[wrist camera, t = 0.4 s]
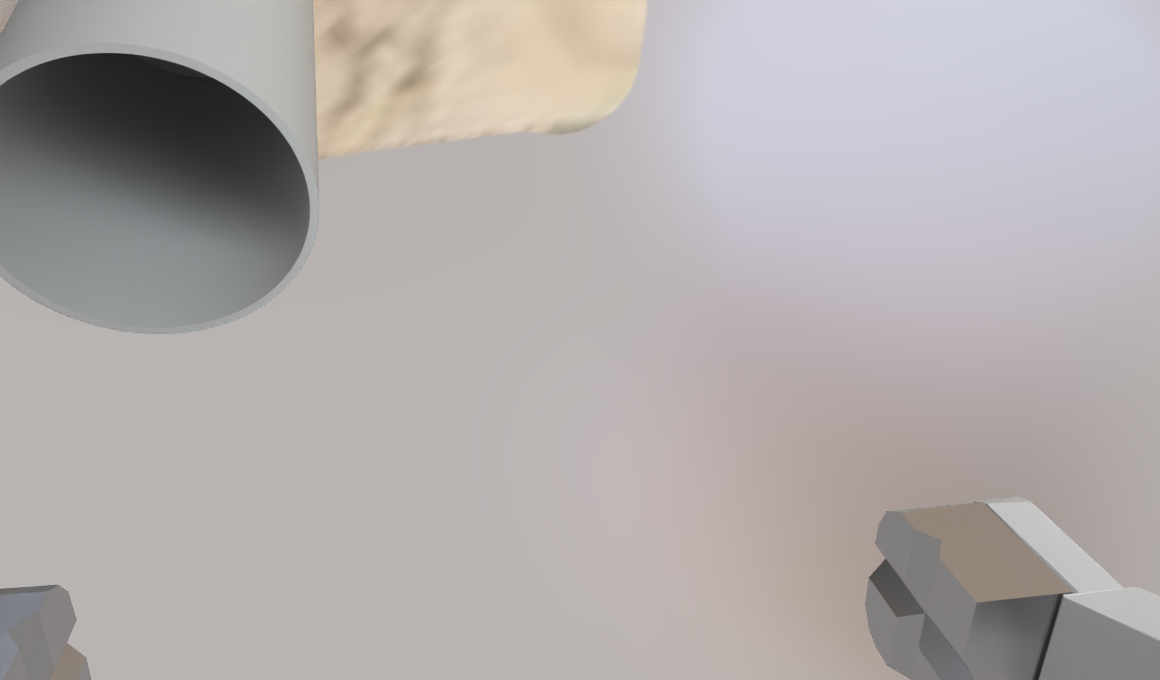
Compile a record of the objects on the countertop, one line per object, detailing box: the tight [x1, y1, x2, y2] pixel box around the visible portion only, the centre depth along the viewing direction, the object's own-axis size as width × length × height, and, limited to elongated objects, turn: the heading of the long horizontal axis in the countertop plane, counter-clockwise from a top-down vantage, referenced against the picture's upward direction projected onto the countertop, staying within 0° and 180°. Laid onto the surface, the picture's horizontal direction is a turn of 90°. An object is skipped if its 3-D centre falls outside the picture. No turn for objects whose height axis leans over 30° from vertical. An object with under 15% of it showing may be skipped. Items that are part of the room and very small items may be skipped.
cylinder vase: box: [0, 0, 319, 334], centre depth 44 cm, size 12×12×25 cm
